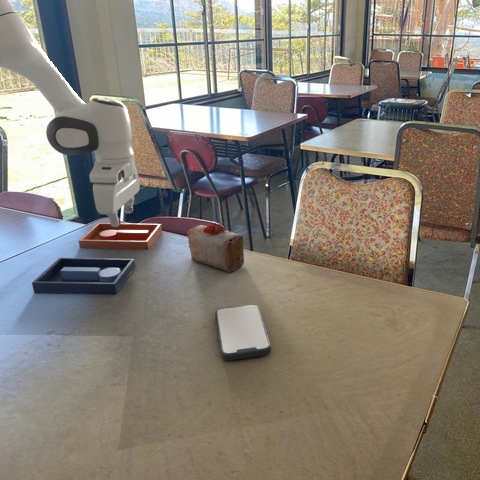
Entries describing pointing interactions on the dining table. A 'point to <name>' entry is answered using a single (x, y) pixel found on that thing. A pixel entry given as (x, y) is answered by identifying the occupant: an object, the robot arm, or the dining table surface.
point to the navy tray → (55, 284)
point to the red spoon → (124, 235)
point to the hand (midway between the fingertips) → (122, 219)
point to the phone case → (241, 332)
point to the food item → (216, 247)
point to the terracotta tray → (94, 240)
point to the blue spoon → (90, 274)
